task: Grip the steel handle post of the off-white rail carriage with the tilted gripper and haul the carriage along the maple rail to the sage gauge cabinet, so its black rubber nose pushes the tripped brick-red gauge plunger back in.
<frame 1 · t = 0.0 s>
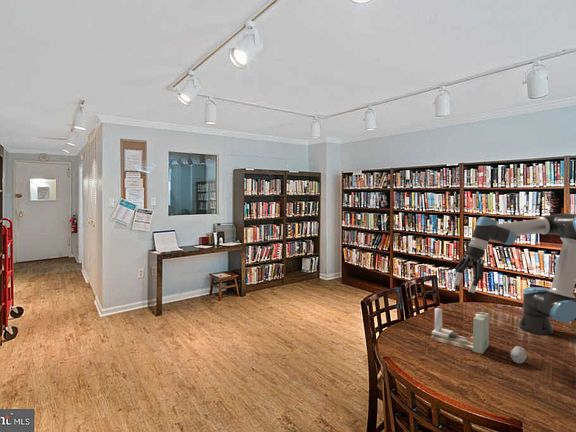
hand: (463, 288, 171), 28 cm above the table, fingers open, 13 cm apart
gauge cabinet: (480, 348, 166), on the table
rail track: (454, 341, 174), on the table
carriage: (445, 322, 177), point 9 cm above the table, slide at 8.7 cm
gauge plunger: (475, 340, 168), point 3 cm above the table, slide at 2.5 cm
grey round lump: (518, 363, 152), on the table
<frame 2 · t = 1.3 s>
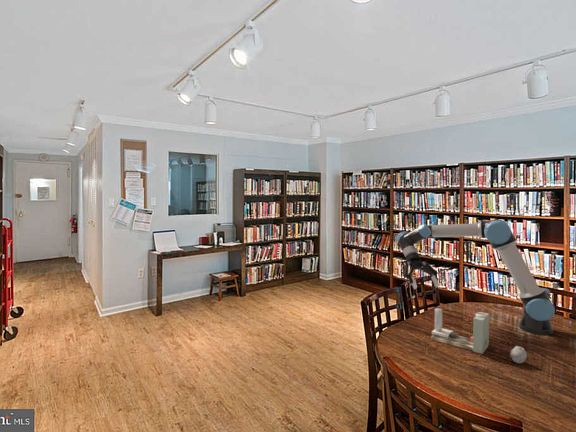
hand: (426, 287, 188), 24 cm above the table, fingers open, 13 cm apart
nothing on the table moved.
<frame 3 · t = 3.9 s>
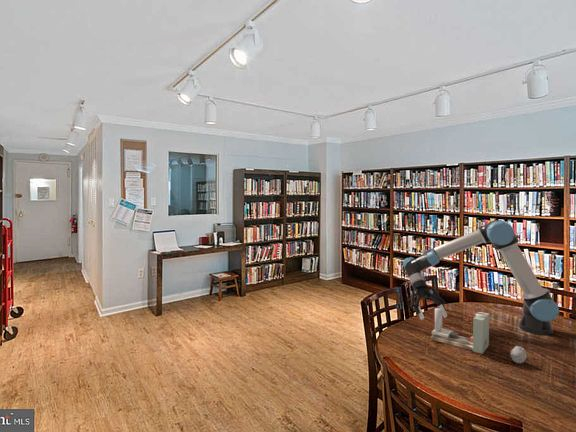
hand: (434, 317, 181), 10 cm above the table, fingers open, 13 cm apart
nothing on the table moved.
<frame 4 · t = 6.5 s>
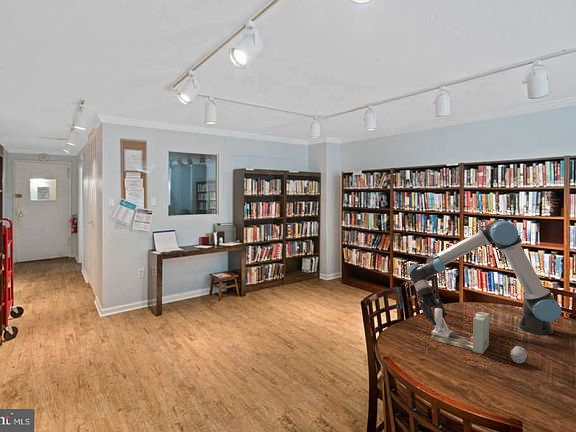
hand: (443, 330, 176), 5 cm above the table, fingers closed on carriage, 4 cm apart
carriage: (445, 322, 177), point 9 cm above the table, slide at 8.7 cm, touching gripper
everything else where it was.
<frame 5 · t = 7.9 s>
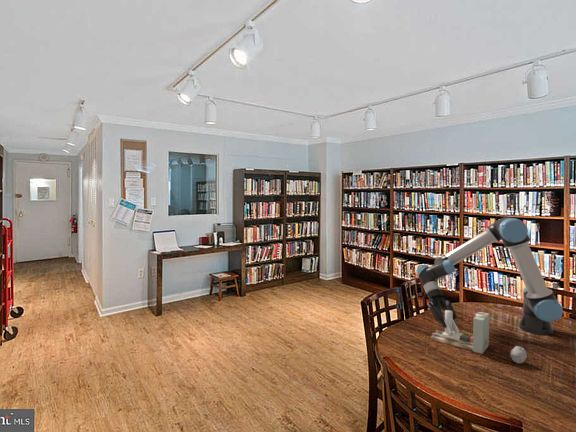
hand: (453, 333, 172), 5 cm above the table, fingers closed on carriage, 4 cm apart
carriage: (455, 324, 174), point 9 cm above the table, slide at 3.6 cm, touching gripper
everything else where it was.
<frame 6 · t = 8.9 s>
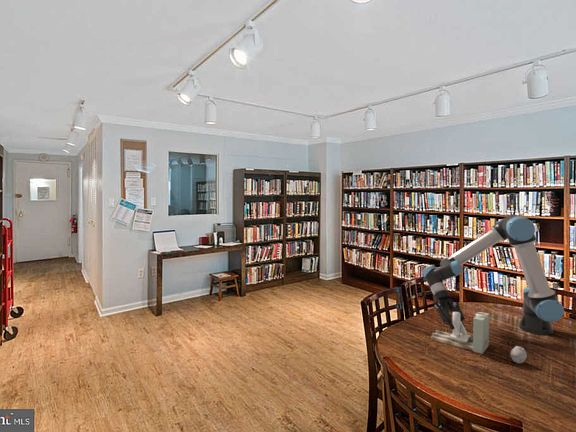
hand: (461, 334, 170), 5 cm above the table, fingers closed on carriage, 4 cm apart
carriage: (463, 326, 171), point 9 cm above the table, slide at -0.1 cm, touching gauge plunger, gripper
gauge plunger: (480, 341, 166), point 3 cm above the table, slide at 0.2 cm, touching carriage
everything else where it was.
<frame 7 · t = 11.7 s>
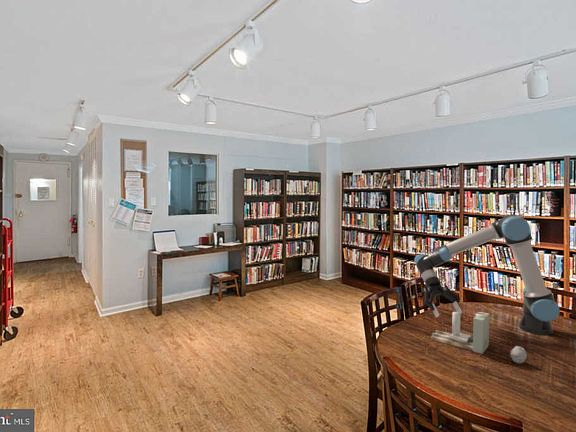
hand: (449, 315, 178), 12 cm above the table, fingers open, 13 cm apart
carriage: (463, 326, 171), point 9 cm above the table, slide at 0.0 cm
gauge plunger: (480, 341, 166), point 3 cm above the table, slide at 0.2 cm
everything else where it was.
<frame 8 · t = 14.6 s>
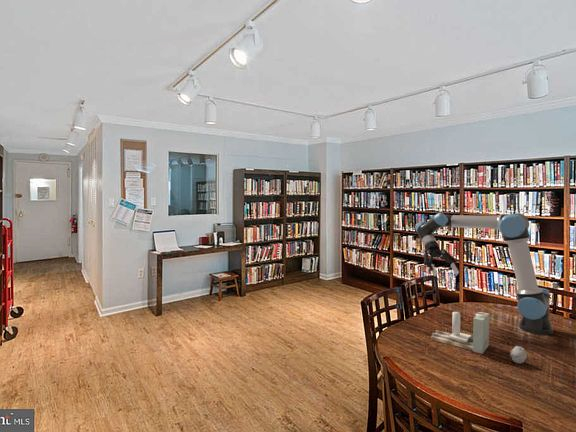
hand: (446, 274, 193), 30 cm above the table, fingers open, 13 cm apart
nothing on the table moved.
at the end: carriage slide at 0.0 cm; gauge plunger slide at 0.2 cm; the gripper is holding nothing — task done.
